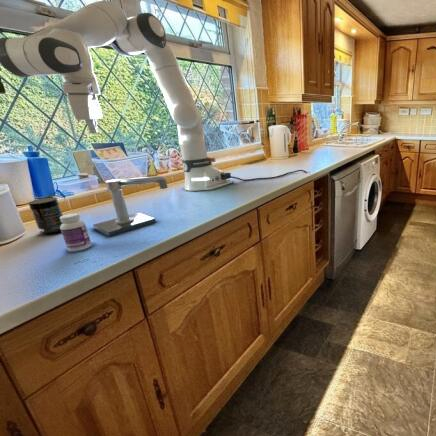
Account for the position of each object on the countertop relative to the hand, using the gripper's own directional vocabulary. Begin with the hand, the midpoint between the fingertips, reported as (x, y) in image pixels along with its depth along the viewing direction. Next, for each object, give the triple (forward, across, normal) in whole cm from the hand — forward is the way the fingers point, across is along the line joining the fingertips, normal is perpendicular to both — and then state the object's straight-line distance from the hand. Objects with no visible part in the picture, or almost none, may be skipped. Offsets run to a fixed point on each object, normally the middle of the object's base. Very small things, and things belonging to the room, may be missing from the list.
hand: (94, 133), depth 102 cm
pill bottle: (+29, +30, -4) cm, 42 cm away
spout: (+17, +17, +11) cm, 26 cm away
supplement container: (+30, +10, -16) cm, 35 cm away
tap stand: (+29, +16, +5) cm, 33 cm away
